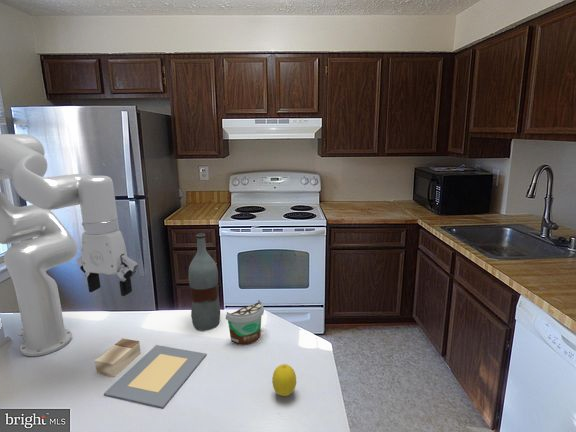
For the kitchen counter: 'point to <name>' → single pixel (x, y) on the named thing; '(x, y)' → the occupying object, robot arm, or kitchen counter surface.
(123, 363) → the birch block
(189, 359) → the mat
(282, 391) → the lemon
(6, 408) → the kitchen counter surface
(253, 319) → the food container
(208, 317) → the bottle
